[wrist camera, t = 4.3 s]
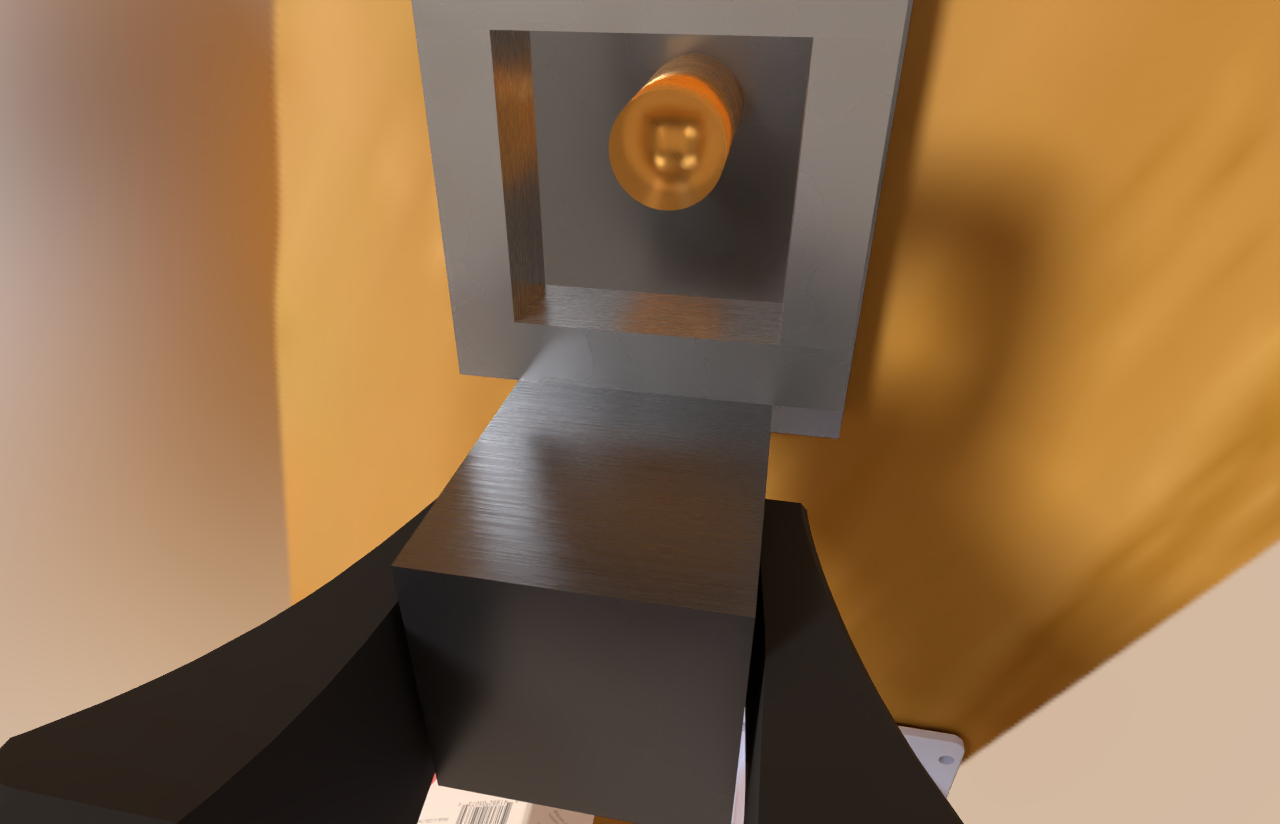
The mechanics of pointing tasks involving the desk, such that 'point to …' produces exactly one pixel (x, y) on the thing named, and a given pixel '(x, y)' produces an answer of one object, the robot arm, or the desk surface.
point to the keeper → (677, 167)
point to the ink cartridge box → (490, 809)
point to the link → (619, 429)
